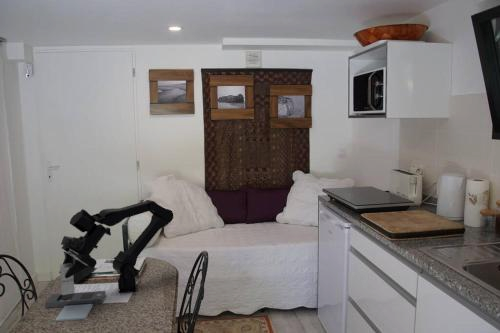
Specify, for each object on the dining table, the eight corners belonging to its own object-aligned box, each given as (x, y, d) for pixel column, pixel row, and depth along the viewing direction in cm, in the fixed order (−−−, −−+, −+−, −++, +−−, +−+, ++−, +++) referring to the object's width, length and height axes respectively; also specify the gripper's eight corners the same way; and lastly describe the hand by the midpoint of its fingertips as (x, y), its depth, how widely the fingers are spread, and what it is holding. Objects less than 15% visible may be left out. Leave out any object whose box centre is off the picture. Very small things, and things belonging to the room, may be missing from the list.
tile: (93, 305, 145) (92, 303, 145) (85, 319, 135) (85, 317, 135) (64, 307, 144) (64, 305, 143) (55, 321, 134) (55, 319, 134)
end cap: (81, 284, 163) (80, 269, 162) (67, 283, 165) (65, 268, 164) (95, 274, 173) (94, 260, 172) (81, 273, 174) (80, 259, 174)
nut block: (74, 288, 144) (72, 262, 142) (74, 292, 140) (72, 266, 139) (62, 290, 142) (60, 264, 141) (62, 295, 138) (59, 268, 137)
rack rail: (105, 295, 153) (105, 290, 152) (101, 304, 146) (101, 298, 146) (52, 299, 150) (51, 294, 150) (45, 308, 143) (44, 302, 143)
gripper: (65, 222, 147) (36, 258, 141) (85, 232, 134) (54, 272, 128) (87, 237, 154) (60, 272, 147) (108, 248, 141) (80, 287, 134)
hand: (63, 275), depth 139 cm, fingers closed on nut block, 5 cm apart
